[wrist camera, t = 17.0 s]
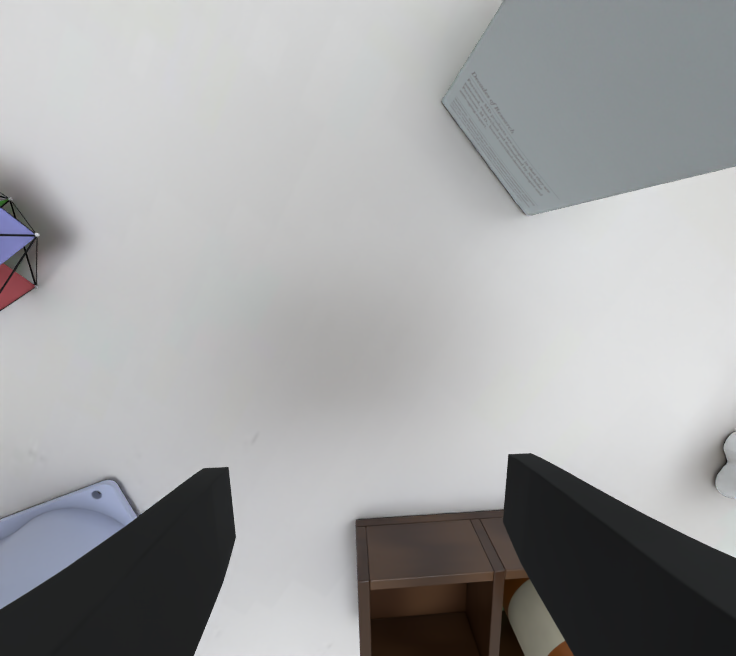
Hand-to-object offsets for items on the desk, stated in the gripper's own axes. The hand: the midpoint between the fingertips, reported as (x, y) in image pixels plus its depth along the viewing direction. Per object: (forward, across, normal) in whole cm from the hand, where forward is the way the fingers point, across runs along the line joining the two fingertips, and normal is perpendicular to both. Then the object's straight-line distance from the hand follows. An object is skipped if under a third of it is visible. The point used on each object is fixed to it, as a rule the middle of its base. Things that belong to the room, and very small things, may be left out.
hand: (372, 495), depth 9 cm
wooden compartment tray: (+10, -7, +13) cm, 18 cm away
